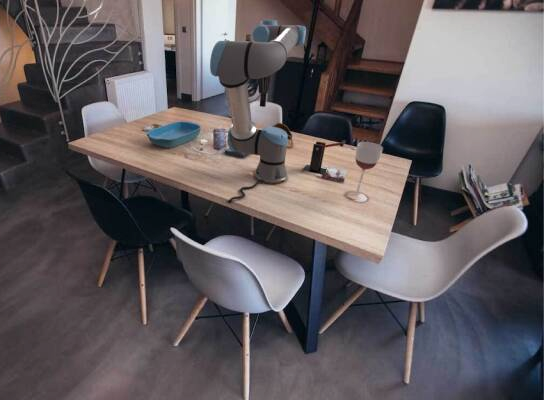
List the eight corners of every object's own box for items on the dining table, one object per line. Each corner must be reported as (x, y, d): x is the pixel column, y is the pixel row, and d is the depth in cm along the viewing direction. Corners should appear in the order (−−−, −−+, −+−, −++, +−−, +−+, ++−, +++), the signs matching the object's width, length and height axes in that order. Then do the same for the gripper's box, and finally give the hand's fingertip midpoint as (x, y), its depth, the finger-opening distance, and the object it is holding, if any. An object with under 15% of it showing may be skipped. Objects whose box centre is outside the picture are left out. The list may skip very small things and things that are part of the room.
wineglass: (361, 191, 137) (375, 141, 126) (371, 202, 129) (387, 150, 117) (341, 191, 137) (353, 141, 125) (350, 202, 128) (364, 150, 117)
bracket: (327, 171, 155) (333, 143, 147) (323, 177, 149) (329, 148, 141) (306, 166, 159) (311, 139, 152) (301, 172, 154) (305, 143, 146)
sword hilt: (296, 128, 194) (275, 119, 193) (300, 141, 173) (276, 130, 172) (288, 142, 199) (267, 133, 197) (291, 156, 178) (268, 146, 176)
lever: (346, 143, 143) (345, 138, 142) (343, 147, 139) (342, 142, 138) (318, 148, 151) (317, 143, 150) (315, 151, 147) (314, 147, 146)
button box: (243, 158, 167) (243, 151, 165) (224, 153, 173) (224, 147, 171) (251, 152, 175) (252, 146, 173) (233, 148, 180) (233, 142, 178)
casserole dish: (168, 153, 172) (167, 140, 168) (140, 144, 183) (138, 133, 179) (207, 136, 198) (207, 125, 195) (181, 129, 209) (180, 119, 205)
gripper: (268, 58, 142) (263, 109, 154) (279, 56, 152) (274, 104, 163) (253, 57, 145) (250, 107, 157) (265, 55, 155) (261, 103, 167)
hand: (262, 106), depth 160 cm, fingers closed
